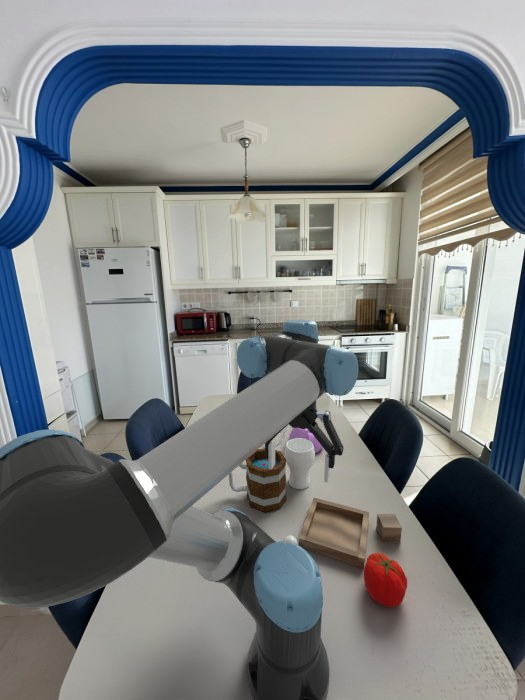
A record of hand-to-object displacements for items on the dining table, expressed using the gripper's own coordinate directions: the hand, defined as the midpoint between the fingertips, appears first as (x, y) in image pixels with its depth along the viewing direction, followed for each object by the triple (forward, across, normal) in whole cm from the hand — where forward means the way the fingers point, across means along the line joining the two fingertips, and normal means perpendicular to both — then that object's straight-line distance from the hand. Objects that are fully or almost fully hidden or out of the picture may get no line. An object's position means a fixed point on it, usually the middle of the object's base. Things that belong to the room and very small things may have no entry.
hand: (298, 472), depth 72 cm
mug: (+27, +19, -18) cm, 38 cm away
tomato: (+27, -21, 0) cm, 34 cm away
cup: (+26, +8, -31) cm, 42 cm away
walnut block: (+26, -22, -18) cm, 39 cm away
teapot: (+26, +11, -56) cm, 63 cm away
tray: (+26, -8, -13) cm, 30 cm away
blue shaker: (+26, +1, +2) cm, 27 cm away
